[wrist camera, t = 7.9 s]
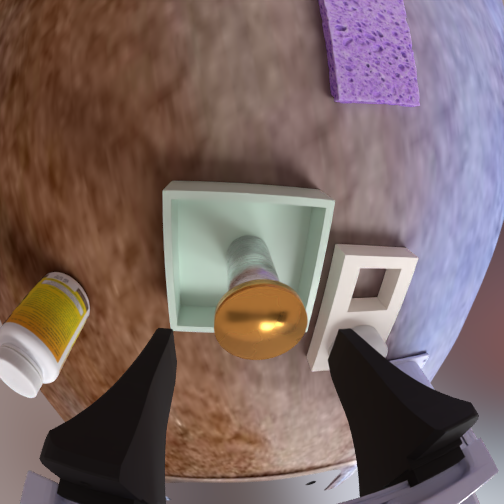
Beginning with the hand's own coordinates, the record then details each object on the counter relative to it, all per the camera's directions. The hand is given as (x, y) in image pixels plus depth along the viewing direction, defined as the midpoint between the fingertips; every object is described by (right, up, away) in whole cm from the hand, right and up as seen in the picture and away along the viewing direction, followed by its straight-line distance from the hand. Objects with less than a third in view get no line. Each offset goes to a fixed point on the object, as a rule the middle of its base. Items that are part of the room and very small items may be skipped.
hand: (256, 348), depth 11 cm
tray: (-1, +4, +9) cm, 10 cm away
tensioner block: (+9, -1, +12) cm, 15 cm away
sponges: (+8, +20, +3) cm, 22 cm away
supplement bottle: (-17, 0, +9) cm, 19 cm away
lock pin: (0, +4, +8) cm, 9 cm away
